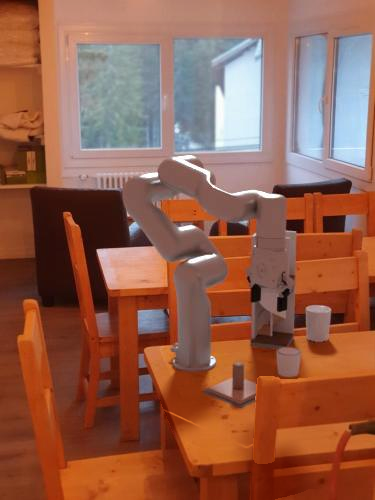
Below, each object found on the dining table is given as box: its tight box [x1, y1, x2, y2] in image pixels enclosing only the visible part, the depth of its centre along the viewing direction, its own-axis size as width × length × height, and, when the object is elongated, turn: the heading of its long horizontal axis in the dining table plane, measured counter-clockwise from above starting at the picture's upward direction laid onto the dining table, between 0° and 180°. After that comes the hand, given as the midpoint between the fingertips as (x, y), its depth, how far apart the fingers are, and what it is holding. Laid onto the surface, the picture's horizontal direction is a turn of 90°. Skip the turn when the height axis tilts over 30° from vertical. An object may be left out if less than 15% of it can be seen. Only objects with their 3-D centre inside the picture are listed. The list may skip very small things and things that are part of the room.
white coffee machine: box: [250, 230, 297, 350], centre depth 218 cm, size 11×11×35 cm
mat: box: [200, 387, 256, 409], centre depth 186 cm, size 14×14×1 cm
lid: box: [208, 362, 256, 404], centre depth 185 cm, size 11×11×8 cm
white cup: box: [305, 304, 332, 343], centre depth 224 cm, size 8×8×10 cm
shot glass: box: [275, 346, 302, 378], centre depth 196 cm, size 7×7×7 cm
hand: (268, 306), depth 184 cm, fingers open, 9 cm apart
